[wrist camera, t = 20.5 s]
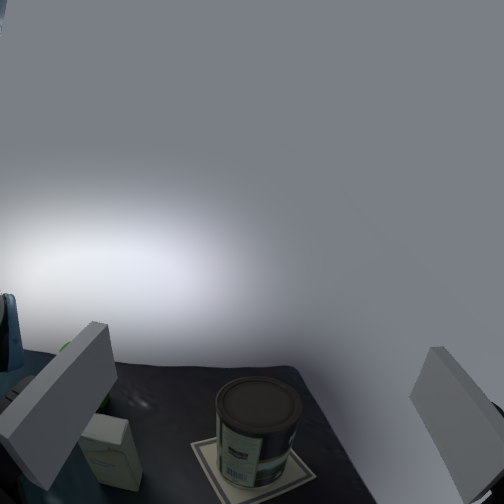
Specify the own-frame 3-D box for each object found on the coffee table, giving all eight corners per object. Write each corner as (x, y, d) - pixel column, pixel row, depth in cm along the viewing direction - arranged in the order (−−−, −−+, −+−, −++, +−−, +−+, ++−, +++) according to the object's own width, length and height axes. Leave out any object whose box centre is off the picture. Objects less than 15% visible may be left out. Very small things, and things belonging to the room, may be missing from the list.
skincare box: (98, 483, 26) (70, 433, 23) (105, 461, 30) (82, 408, 27) (140, 492, 27) (120, 445, 24) (144, 469, 31) (128, 418, 28)
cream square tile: (190, 444, 37) (190, 443, 37) (268, 422, 44) (268, 421, 44) (228, 513, 26) (228, 512, 26) (316, 477, 32) (316, 476, 32)
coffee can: (283, 440, 40) (298, 377, 36) (287, 490, 30) (308, 433, 26) (218, 436, 40) (220, 372, 36) (212, 487, 30) (210, 429, 26)
